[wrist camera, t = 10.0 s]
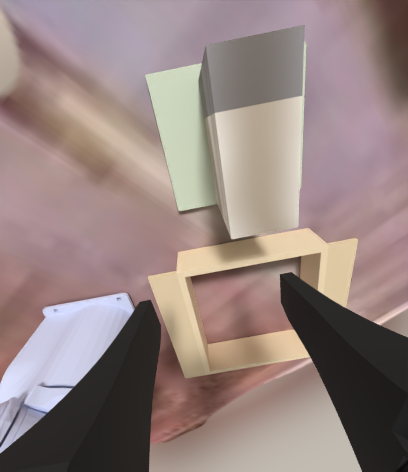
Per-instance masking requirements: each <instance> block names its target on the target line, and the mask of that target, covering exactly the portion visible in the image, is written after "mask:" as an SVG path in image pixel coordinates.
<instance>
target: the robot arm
mask: <svg viewBox="0 0 408 472" xmlns="http://www.w3.org/2000/svg"><path fill="white" fill-rule="evenodd" d="M280 288H281V304H282V306H283V308H284V311H285V313H286V315H287V317H288V320H289V321H290V323H291V325H292V327H293V328H294V330H295V332H296V333H297V335H298V337H299V339H300V340H301V342H302V344H303V345H304V347H305V349H306V350H307V352H308V354H309V356H310V357H311V359H312V361H313V363H314V364H315V366H316V368H317V370H318V372H319V374H320V377H321V379H322V381H323V383H324V384H325V387H326V389H327V391H328V394H329V396H330V398H331V400H332V402H333V405H334V407H335V408H336V411H337V413H338V416H339V418H340V420H341V422H342V425H343V427H344V429H345V432H346V434H347V436H348V439H349V441H350V443H351V446H352V448H353V450H354V453H355V455H356V457H357V460H358V463H359V465H360V467H361V470H362V472H408V338H407V337H405V336H403V335H400V334H398V333H396V332H394V331H391V330H389V329H387V328H384V327H382V326H380V325H378V324H376V323H374V322H372V321H369V320H368V319H366V318H364V317H362V316H360V315H358V314H356V313H354V312H352V311H350V310H348V309H347V308H345V307H343V306H341V305H340V304H338V303H336V302H335V301H333V300H331V299H330V298H328V297H327V296H325V295H324V294H322V293H321V292H319V291H317V290H316V289H315V288H313V287H312V286H310V285H309V284H307V283H306V282H304V281H303V280H302V279H300V278H299V277H297V276H296V275H295V274H293V273H292V272H290V273H285V274H280ZM119 298H121V299H119ZM43 314H44V315H45V316H46V318H45V319H44V320H43V322H42V323H41V324H40V326H39V327H38V328H37V330H36V331H35V332H34V334H33V335H32V336H31V338H30V339H29V340H28V342H27V343H26V344H25V346H24V347H23V348H22V350H21V351H20V352H19V353H18V355H17V356H16V357H15V359H14V360H13V361H12V363H11V364H10V366H9V367H8V369H7V370H6V372H5V374H4V376H3V378H2V381H1V384H0V472H149V452H150V429H151V412H152V398H153V389H154V383H155V376H156V370H157V363H158V357H159V350H160V341H161V324H160V322H159V319H158V317H157V314H156V312H155V309H154V307H153V304H152V302H151V300H147V301H142V302H140V303H139V304H138V305H137V307H136V308H134V306H133V303H132V301H131V299H130V297H129V295H128V294H127V293H120V294H114V295H109V296H103V297H98V298H92V299H87V300H82V301H76V302H71V303H65V304H60V305H54V306H49V307H45V308H44V309H43Z"/></svg>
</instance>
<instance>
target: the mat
mask: <svg viewBox="0 0 408 472" xmlns="http://www.w3.org/2000/svg"><path fill="white" fill-rule="evenodd" d="M305 62H306V42H304V59H303V90H302V122H301V153H300V185H299V188H301V175H302V147H303V118H304V90H305ZM201 65H202V63H201V64H196V65H191V66H186V67H181V68H176V69H172V70H167V71H162V72H157V73H152V74H147V75H145V76H146V80H147V84H148V88H149V92H150V96H151V100H152V104H153V108H154V112H155V116H156V121H157V125H158V129H159V133H160V137H161V141H162V145H163V149H164V153H165V157H166V161H167V166H168V170H169V174H170V178H171V182H172V186H173V190H174V194H175V198H176V202H177V206H178V210H179V211H183V210H188V209H194V208H199V207H204V206H210V205H215V204H217V199H216V192H215V186H214V179H213V173H212V166H211V160H210V153H209V147H208V140H207V134H206V127H205V121H204V114H203V107H202V101H201V94H200V88H199V81H198V79H199V75H200V70H201Z"/></svg>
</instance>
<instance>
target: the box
mask: <svg viewBox="0 0 408 472" xmlns="http://www.w3.org/2000/svg"><path fill="white" fill-rule="evenodd" d="M304 27H305V25H302V26H297V27H292V28H287V29H282V30H278V31H273V32H268V33H263V34H258V35H253V36H248V37H243V38H239V39H234V40H229V41H224V42H219V43H214V44H209V45H206V46H205V51H204V56H203V60H202V65H201V70H200V75H199V79H198V81H199V88H200V94H201V101H202V107H203V114H204V121H205V127H206V134H207V140H208V147H209V153H210V160H211V166H212V173H213V179H214V186H215V192H216V199H217V204H218V206H219V209H220V212H221V214H222V217H223V219H224V222H225V224H226V227H227V230H228V232H229V235H230V237H231V239H236V238H242V237H247V236H252V235H258V234H263V233H269V232H274V231H279V230H285V229H290V228H295V227H298V216H299V185H300V153H301V122H302V90H303V59H304Z"/></svg>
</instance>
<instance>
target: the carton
mask: <svg viewBox="0 0 408 472" xmlns="http://www.w3.org/2000/svg"><path fill="white" fill-rule="evenodd" d="M357 243H358V239H356V238H353V239H348V240H343V241H337V242H332V243H326V242H324V241H323V240H322V239H321V238H320V237H318V236H317V235H316V234H315V233H314V232H312V231H311V230H310V229H309V228H305V229H300V230H294V231H289V232H284V233H278V234H273V235H267V236H262V237H257V238H251V239H246V240H241V241H235V242H230V243H224V244H219V245H214V246H208V247H203V248H198V249H192V250H187V251H181V252H178V259H177V271H174V272H169V273H163V274H158V275H152V276H149V277H148V280H149V282H150V285H151V288H152V290H153V293H154V296H155V298H156V301H157V304H158V306H159V309H160V312H161V315H162V317H163V320H164V323H165V325H166V328H167V331H168V333H169V336H170V339H171V341H172V344H173V347H174V349H175V352H176V355H177V357H178V360H179V363H180V365H181V368H182V371H183V374H184V376H185V379H186V378H192V377H197V376H203V375H209V374H215V373H220V372H226V371H232V370H238V369H243V368H249V367H255V366H261V365H266V364H272V363H278V362H284V361H290V360H295V359H301V358H307V357H310V356H309V354H308V352H307V350H306V349H305V347H304V345H303V344H302V342H301V340H300V339H299V337H298V335H297V333H296V332H295V330H294V329H291V330H285V331H280V332H274V333H269V334H263V335H257V336H252V337H246V338H240V339H235V340H229V341H223V342H218V343H212V344H208V343H207V339H206V335H205V331H204V327H203V324H202V320H201V316H200V312H199V308H198V304H197V300H196V296H195V292H194V288H193V284H192V281H191V277H190V276H195V275H200V274H206V273H211V272H217V271H222V270H228V269H233V268H238V267H244V266H249V265H255V264H260V263H266V262H271V261H277V260H282V259H288V258H293V257H298V256H301V269H300V279H302V280H303V281H304V282H306V283H307V284H309V285H310V286H312V287H313V288H315V289H316V290H317V291H319V292H321V293H322V294H324V295H325V296H327V297H328V298H330V299H331V300H333V301H335V302H336V303H338V304H340V305H341V306H343V307H345V308H346V304H347V299H348V293H349V288H350V282H351V276H352V271H353V265H354V260H355V254H356V249H357Z"/></svg>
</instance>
